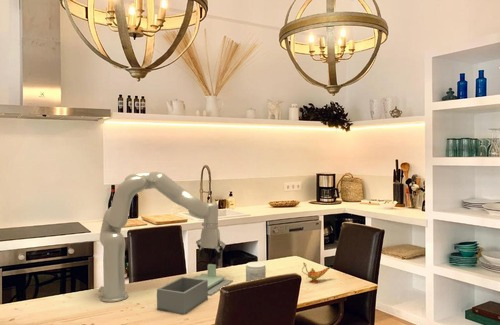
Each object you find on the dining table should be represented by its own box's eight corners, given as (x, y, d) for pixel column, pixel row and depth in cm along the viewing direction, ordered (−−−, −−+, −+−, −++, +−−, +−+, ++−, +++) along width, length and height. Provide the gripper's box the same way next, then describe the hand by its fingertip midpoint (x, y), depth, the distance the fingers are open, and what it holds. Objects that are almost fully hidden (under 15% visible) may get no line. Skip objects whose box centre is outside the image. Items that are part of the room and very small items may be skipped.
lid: (181, 288, 209) (181, 272, 209) (201, 277, 228) (201, 262, 227) (206, 291, 204) (206, 275, 203) (224, 280, 222) (224, 265, 222)
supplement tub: (245, 291, 206) (244, 261, 206) (264, 290, 207) (264, 261, 206) (246, 298, 196) (246, 267, 196) (267, 297, 197) (266, 266, 197)
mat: (172, 289, 209) (172, 288, 209) (197, 276, 231) (197, 275, 231) (211, 295, 200) (211, 294, 200) (233, 281, 222) (233, 280, 222)
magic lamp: (334, 281, 221) (334, 260, 221) (305, 285, 215) (305, 264, 214) (327, 277, 228) (327, 257, 227) (298, 281, 221) (298, 260, 221)
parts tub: (157, 309, 182) (156, 289, 182) (182, 295, 201) (182, 276, 200) (184, 314, 177) (184, 293, 176) (207, 299, 195) (207, 280, 195)
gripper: (193, 225, 222) (192, 257, 222) (222, 228, 215) (221, 261, 216) (200, 223, 229) (199, 255, 229) (228, 226, 222) (228, 258, 222)
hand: (210, 258), depth 222 cm, fingers open, 9 cm apart
